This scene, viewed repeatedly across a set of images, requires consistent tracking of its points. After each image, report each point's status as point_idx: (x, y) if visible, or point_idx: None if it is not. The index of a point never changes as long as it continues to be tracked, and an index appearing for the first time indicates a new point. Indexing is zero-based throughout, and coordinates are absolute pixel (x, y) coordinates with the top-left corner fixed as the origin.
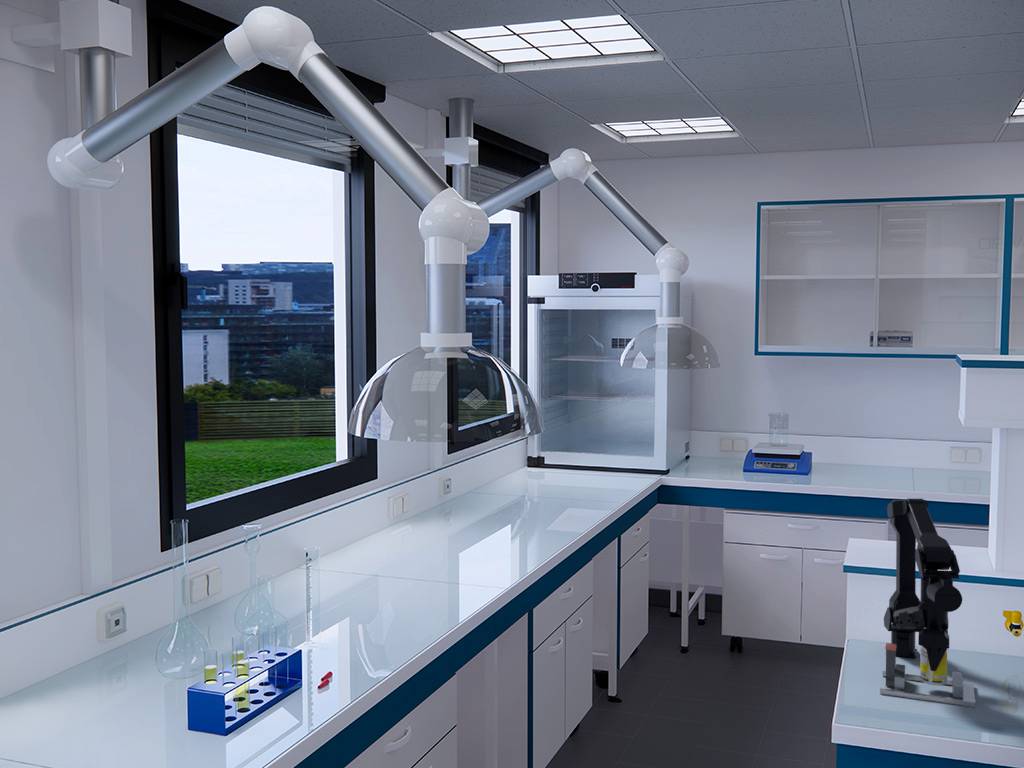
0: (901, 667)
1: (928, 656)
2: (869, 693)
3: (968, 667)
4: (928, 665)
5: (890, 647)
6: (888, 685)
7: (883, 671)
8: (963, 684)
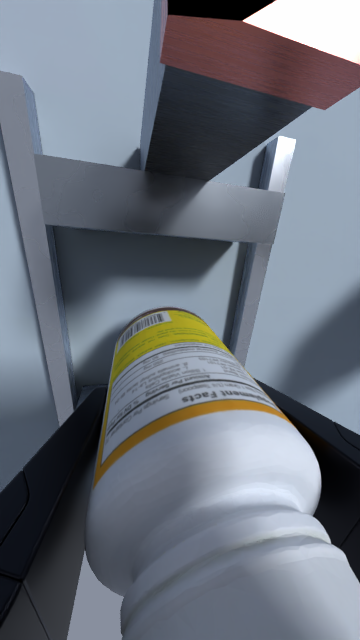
0: (236, 220)
1: (8, 487)
2: None
3: (346, 394)
4: (109, 390)
5: None
6: (140, 156)
7: (288, 143)
8: None
